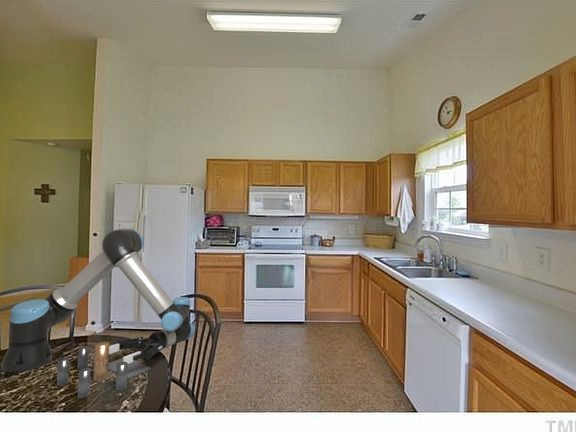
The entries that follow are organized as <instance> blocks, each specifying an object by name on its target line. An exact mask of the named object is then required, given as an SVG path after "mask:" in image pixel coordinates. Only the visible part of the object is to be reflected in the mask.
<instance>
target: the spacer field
mask: <svg viewBox="0 0 576 432" xmlns="http://www.w3.org/2000/svg"><path fill="white" fill-rule="evenodd" d="M89 348H90V347H89V345H83V346H79V347H78V349H77V350H78V351H77V371H78V382H77V383H78V385H77V398H79V399H84V398H87V397H89V396H90V395H91V377H92V376H91V375H92V369H91V367H89V365H88V364H89ZM127 365H128V363H127V362H120V363H118V364H117V372H116V373H115V374H116V376H115V377H116V378H115V390H116V391H124V390H126V389H127V385H128V383H127V382H128V378H127ZM56 371H57V375H56V386H64V385H67V384H68V383H69V376H70V375H69V374H70V373H69V372H70V357H63V358H62V357H61V358H59V359H57V370H56Z"/></svg>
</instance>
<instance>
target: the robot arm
mask: <svg viewBox="0 0 576 432" xmlns="http://www.w3.org/2000/svg"><path fill="white" fill-rule="evenodd" d="M101 243H102V244H101V246H102V249H101V250H102V251H101V252H100V253H99V254H98V255H97V256H96V257H94V259H92V260H91V261H90V262H89V263H88V264H87V265H86V266H85V267H84V268H83V269H81V271H79V273H78V274H76V275H75V276H74V277H73V278H72V279H70V281H68V282H67V283H66V284H65V285H64V286H63V287H62V288H58V289H55V290H53V291H52V292H51V293H50V294H49V295H47V297H46V298H44V299H40V298H39V299H31V300H27V301H22V302H20V303H17V304H16V305H14V306H13V307H12V308H11V310H10V315H9V331H8V347H7V349H6V351H5V354H4V356H3V358H2V361H1V366H0V370H1V372H3V373H20V372H26V371H30V370H34V369H38V368H41V367H43V366H45V365H48V364H49V363H50V362H52V359H53V352H52V349H51V346H50V344H49V341H48V334H49V333H48V331H49V329H51V328H52V327H54V326H56V325H58V324H61V323H63V322H65V321H67V320H68V319H69V318H70V317H72V315H73V314H74V311H75V310H76V309H77V308H78V306H79V301H80V300H81V299H82V298H83V297H84V296H86V295H87V294H88V293H89V291H91V290H92V289H93V288H94V287H95V286H96V285H98V284H99V283H100V282H101V281H102V280H103V279H104V278H105V277H107V275H109V274H110V272H111V271H112V270H113V269H114V268H118V269H120V270H121V272H122V273H123V274H124V276H126V278H127V279H128V280H129V282H130V283H131V284H132V285H133V286H134V288H135V289H136V290H137V292H138V293H139V294H140V296H141V297H143V299H144V300H145V301H146V302H147V304H148V305H149V306H150V308H151V309H152V310H153V311H154V312H155V314H156V315H157V316H158V318H160V322H161V323H160V324H161V328H162V329H161V330H158V331H154V332H152V333H150V335H149V336H148V337H144V336H140V337H139V336H138V337H135V338H134V337H133V338H130V339H129V338H128V339H122V340H117V341H116V342H115V344H111V345H109V355H111V354H113V353H118V352H120V350H130V349H136V350H141V351H136V352H134V353H131V354H130V353H129V354H127V355H126V356H123V357H122V358H123V362H127V363H128V364H129V363H131V362H134V361H135V362H138V361H139V360H141V359H142V360H144V359H146V360H150V359H151V358H152V357H154V356H155V355H156V354H157V353H159V352H160V351H162V350H164V349H168V348H169V347H171V346H174V345H176V344H179V343H182V342H185V341H187V340H190V339H192V337H193V336H194V335H195V333H196V332H195V327H194V324H193V323H192V322H191V321H190V313H191V312H190V310H191V299H190V298H189V297H187V296H177V297H175V298H173V299H171V297H170V296H169V295H168V293H167V292H166V291H165V289H163V287H162V286H161V285H160V284H159V283H158V281H157V280H156V278H155V277H153V275H152V274H151V272H150V271H149V270H148V269H147V267H146V266H145V265H144V264H143V262H141V260H140V259H139V258H138V256H137V254H139V252H141V250H143V247H144V238H143V236H142V234H141V233H140V232H139V231H137V230H134V229H130V228H127V229H114V230H111V231H110V232H109V231H108V233H106V234H105V236H104V237H103V239H102V241H101Z"/></svg>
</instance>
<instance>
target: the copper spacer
mask: <svg viewBox="0 0 576 432" xmlns="http://www.w3.org/2000/svg"><path fill="white" fill-rule="evenodd" d="M109 346H110V342H109V341H100V342H97V343H95V344H94V360H93V361H94V363H93V381H95V382H100V381H105V380H107V379H108V377H109V370H108V363H110V359H109V358H110V354H109Z"/></svg>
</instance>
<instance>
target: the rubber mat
mask: <svg viewBox="0 0 576 432" xmlns="http://www.w3.org/2000/svg"><path fill="white" fill-rule="evenodd" d="M120 362H123V357H122V358H119V359H116V360H113V361H111V362H110V361H109V363H108V371H110V372H112V373H114V374H116V372H117V364H118V363H120ZM151 369H152V368H151V367H150V366H147V365H145V364H143V363H140V362H138V361H134V362H131V363H129V364H128V365H127V380H128V379H131V378H133V377H136V376H137V375H138V376H139V375H140V374H143V373H145V372H147V371H150V370H151Z"/></svg>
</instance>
